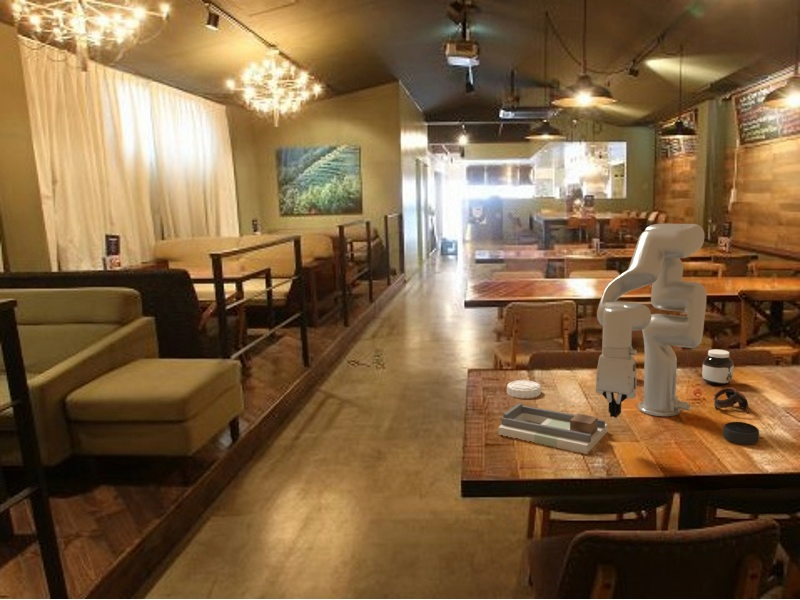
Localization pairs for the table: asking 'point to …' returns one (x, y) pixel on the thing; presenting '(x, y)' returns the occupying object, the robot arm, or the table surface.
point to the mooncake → (523, 389)
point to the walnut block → (584, 424)
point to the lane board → (548, 428)
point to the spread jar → (718, 368)
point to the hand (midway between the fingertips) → (614, 415)
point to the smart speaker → (741, 433)
